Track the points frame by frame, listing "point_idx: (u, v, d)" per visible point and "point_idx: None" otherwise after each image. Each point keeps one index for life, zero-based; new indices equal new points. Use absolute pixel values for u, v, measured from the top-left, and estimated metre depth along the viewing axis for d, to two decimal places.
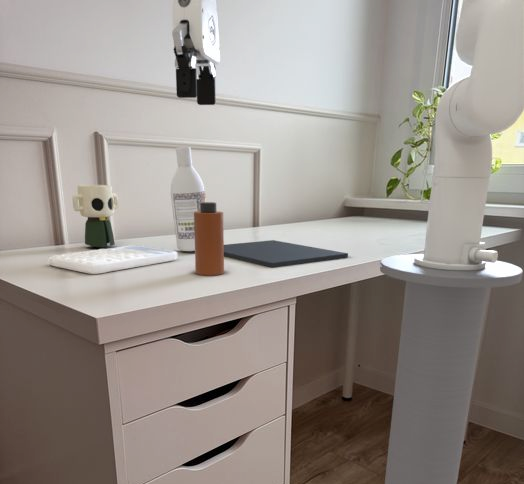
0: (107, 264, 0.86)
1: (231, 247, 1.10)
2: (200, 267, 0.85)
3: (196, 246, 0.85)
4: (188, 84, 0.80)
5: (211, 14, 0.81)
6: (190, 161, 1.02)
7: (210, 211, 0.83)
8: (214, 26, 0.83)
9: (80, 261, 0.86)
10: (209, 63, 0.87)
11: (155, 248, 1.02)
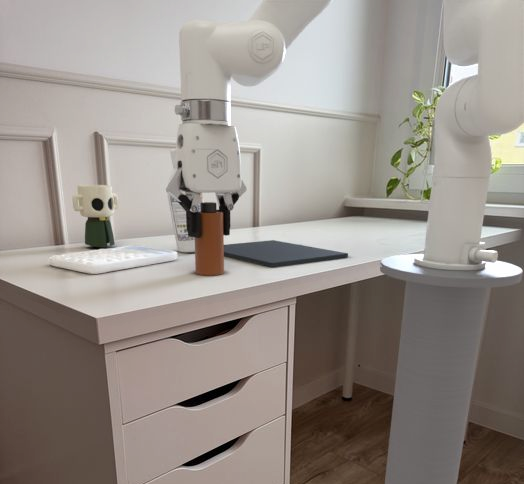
0: (107, 264, 0.86)
1: (231, 247, 1.10)
2: (200, 267, 0.85)
3: (196, 246, 0.85)
4: (191, 227, 0.82)
5: (215, 149, 0.79)
6: None
7: (210, 211, 0.83)
8: (224, 158, 0.80)
9: (80, 261, 0.86)
10: (223, 192, 0.84)
11: (155, 248, 1.02)
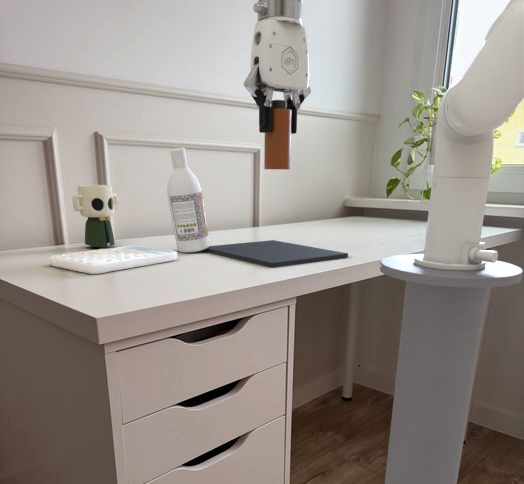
0: (107, 264, 0.86)
1: (231, 247, 1.10)
2: (270, 161, 0.93)
3: (267, 142, 0.93)
4: (264, 121, 0.90)
5: (288, 46, 0.87)
6: (185, 162, 1.02)
7: (280, 107, 0.91)
8: (296, 56, 0.88)
9: (80, 261, 0.86)
10: (292, 91, 0.92)
11: (155, 248, 1.02)
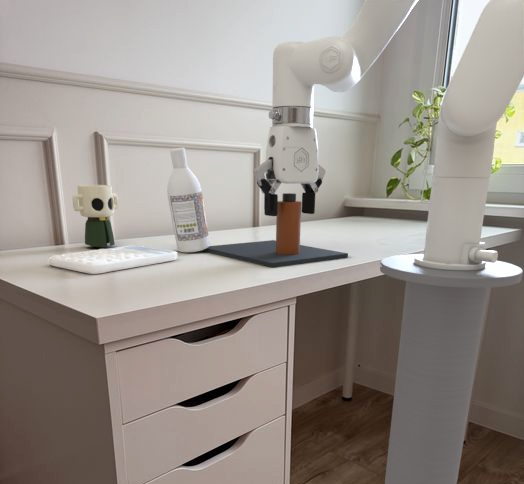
0: (107, 264, 0.86)
1: (231, 247, 1.10)
2: (281, 247, 1.02)
3: (278, 230, 1.01)
4: (269, 207, 0.97)
5: (300, 147, 0.95)
6: (185, 162, 1.02)
7: (291, 200, 1.00)
8: (307, 155, 0.97)
9: (80, 261, 0.86)
10: None
11: (155, 248, 1.02)
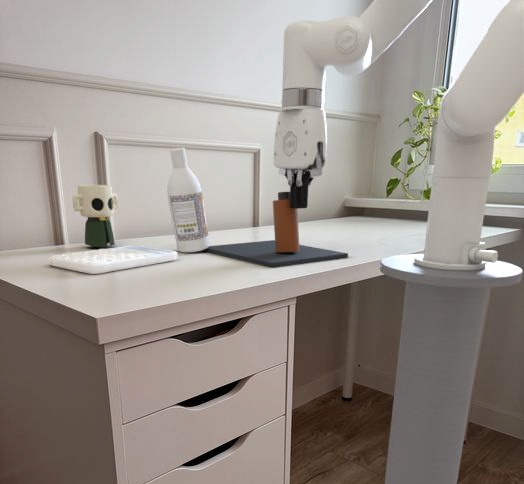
0: (107, 264, 0.86)
1: (231, 247, 1.10)
2: (280, 245, 1.02)
3: (276, 228, 1.02)
4: None
5: (288, 131, 0.93)
6: (185, 162, 1.02)
7: (287, 198, 1.00)
8: (295, 138, 0.92)
9: (80, 261, 0.86)
10: (299, 168, 0.95)
11: (155, 248, 1.02)
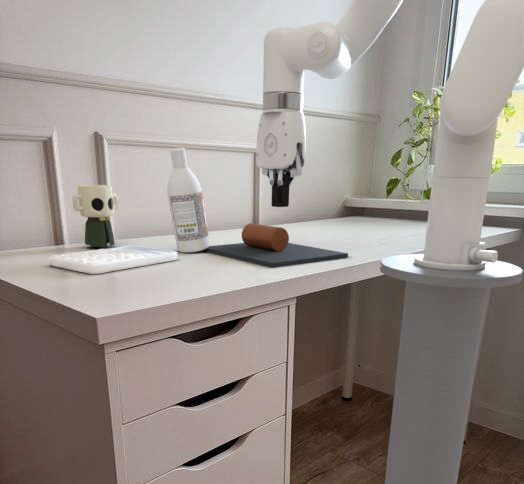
0: (107, 264, 0.86)
1: (231, 247, 1.10)
2: (267, 236, 1.05)
3: (257, 239, 1.07)
4: None
5: (269, 133, 0.97)
6: (185, 162, 1.02)
7: None
8: (275, 140, 0.96)
9: (80, 261, 0.86)
10: (279, 168, 0.99)
11: (155, 248, 1.02)
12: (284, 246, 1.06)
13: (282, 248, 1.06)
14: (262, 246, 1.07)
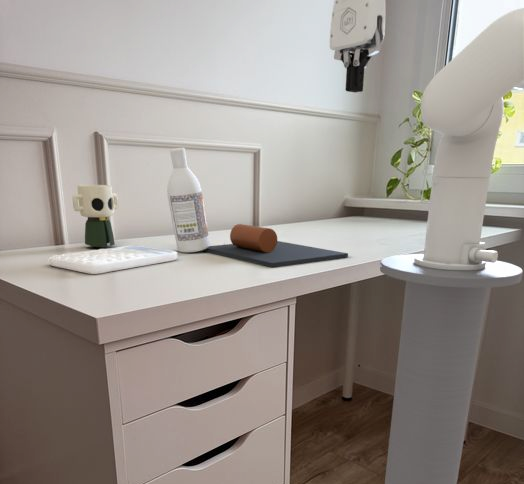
0: (107, 264, 0.86)
1: (231, 247, 1.10)
2: (258, 250, 1.04)
3: (252, 249, 1.07)
4: None
5: (347, 7, 0.94)
6: (185, 162, 1.02)
7: None
8: (354, 13, 0.93)
9: (80, 261, 0.86)
10: (356, 47, 0.96)
11: (155, 248, 1.02)
12: (275, 236, 1.04)
13: (276, 239, 1.04)
14: None
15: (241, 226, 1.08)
